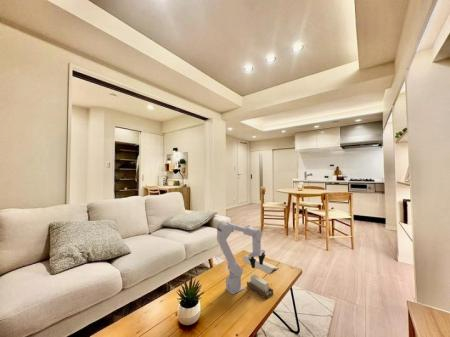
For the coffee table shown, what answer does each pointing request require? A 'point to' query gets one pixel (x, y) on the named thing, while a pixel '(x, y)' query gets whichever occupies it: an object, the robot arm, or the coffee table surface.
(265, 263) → the crown molding
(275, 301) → the coffee table surface
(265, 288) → the light grey block
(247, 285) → the rack
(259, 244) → the robot arm
